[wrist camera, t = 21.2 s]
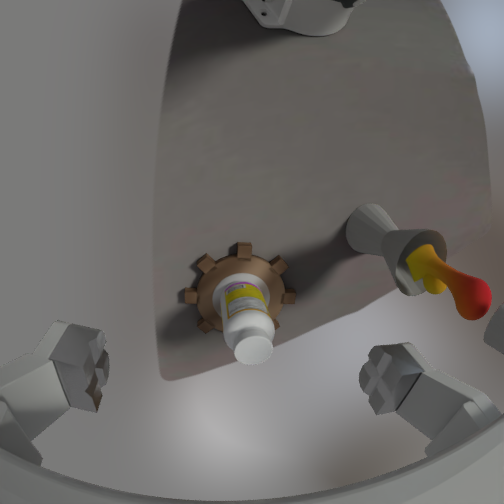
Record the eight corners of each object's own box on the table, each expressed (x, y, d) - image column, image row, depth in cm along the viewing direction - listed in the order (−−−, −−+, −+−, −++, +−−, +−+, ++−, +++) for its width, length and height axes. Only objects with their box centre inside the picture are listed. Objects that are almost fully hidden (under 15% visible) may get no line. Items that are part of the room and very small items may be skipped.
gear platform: (163, 292, 44) (161, 297, 42) (245, 218, 41) (247, 221, 40) (236, 352, 50) (237, 358, 49) (313, 293, 48) (316, 298, 46)
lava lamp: (335, 223, 44) (513, 371, 11) (377, 191, 43) (571, 288, 10) (358, 263, 47) (501, 411, 15) (396, 233, 46) (554, 346, 14)
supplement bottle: (250, 320, 46) (264, 376, 34) (213, 307, 44) (216, 363, 32) (270, 287, 44) (291, 338, 32) (231, 272, 42) (240, 322, 30)
